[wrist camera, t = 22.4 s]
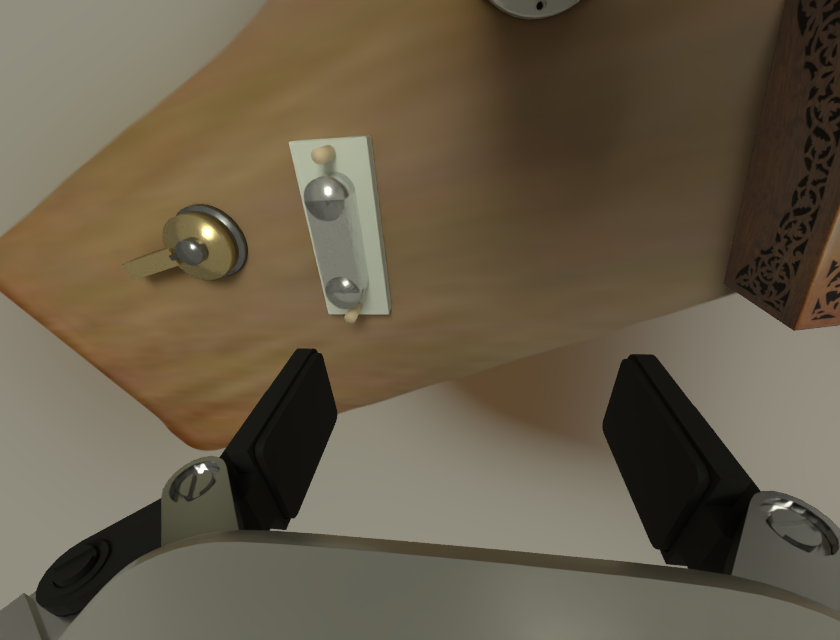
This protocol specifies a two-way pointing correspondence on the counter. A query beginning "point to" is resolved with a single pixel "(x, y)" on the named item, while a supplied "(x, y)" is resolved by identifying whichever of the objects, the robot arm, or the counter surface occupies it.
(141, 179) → the counter surface
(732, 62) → the counter surface
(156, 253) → the gold handled disc
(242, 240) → the round gray base
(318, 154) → the peg rest
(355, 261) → the steel bar
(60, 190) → the counter surface
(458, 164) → the counter surface
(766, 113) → the tissue box cover
